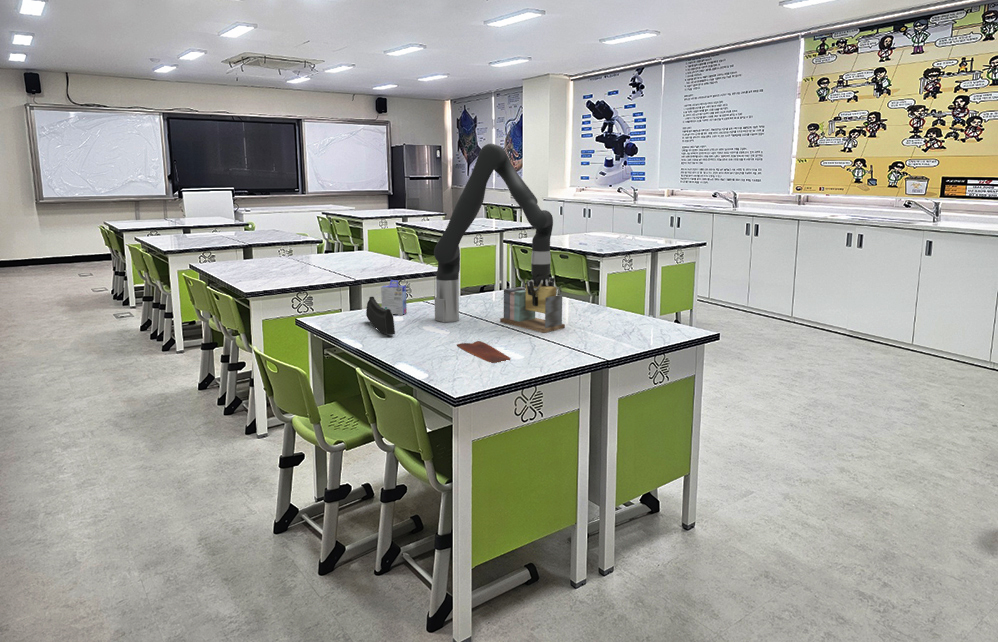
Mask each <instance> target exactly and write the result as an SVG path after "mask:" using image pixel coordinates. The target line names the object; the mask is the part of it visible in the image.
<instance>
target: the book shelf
mask: <svg viewBox="0 0 998 642" xmlns="http://www.w3.org/2000/svg"><path fill="white" fill-rule="evenodd" d="M525 303H526V287H522V286H518V287H510V288H504V289H503V317H500V318H499V319H500V323H503V324H506V325H512V326H514V327H518V328H523V329H526V330H531V331H535V332H537V333H538V332H539V333H548V332H552V331H553V332H554V331H558V330H562V329H563V330H564V329H565V328H566V324H564V323H563V322H562V321H563V294H559V295H556V296H552V297H546V298H545V314H544V319H542V318H538V317H536V312H535V311H530V310H526V309H525Z"/></svg>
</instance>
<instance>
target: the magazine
mask: <svg viewBox="0 0 998 642" xmlns="http://www.w3.org/2000/svg"><path fill="white" fill-rule="evenodd" d="M368 298H369V299H368V301H367V303H366V313H365V315H366V318H367V319H368V321H369V322H370V324H371V325H372V326H373V327H375V328H377V329H378V330H379V331H380V332H379V331H378V330H377V331H378V332H379V333H381V334H384V335H386V336H393V335H396V329H395V319H394V315H393V314H392V313H391V310H390V309H387V310H386V309H384V308H382V305H380V304H379V303H378V302H377V301H376V299H375V296H369V297H368ZM375 328H374V329H375Z"/></svg>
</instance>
